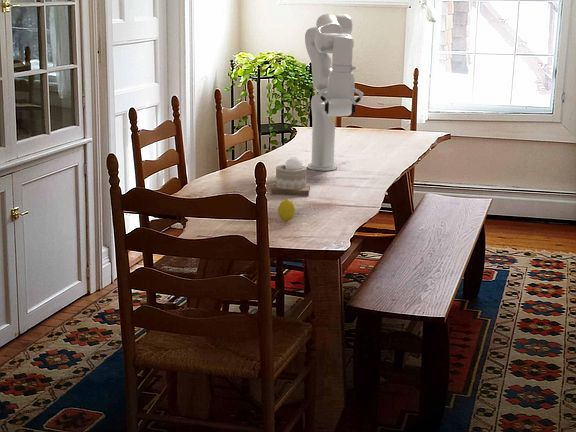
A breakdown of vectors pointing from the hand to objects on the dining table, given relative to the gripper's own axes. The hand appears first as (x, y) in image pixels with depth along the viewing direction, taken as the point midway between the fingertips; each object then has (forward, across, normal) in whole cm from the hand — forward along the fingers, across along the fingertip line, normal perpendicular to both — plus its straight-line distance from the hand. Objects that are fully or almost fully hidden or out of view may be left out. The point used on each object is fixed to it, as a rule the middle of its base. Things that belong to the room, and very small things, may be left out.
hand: (339, 113), depth 356 cm
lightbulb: (+25, +19, +15) cm, 35 cm away
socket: (+28, +17, +14) cm, 35 cm away
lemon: (+27, +14, +60) cm, 67 cm away
